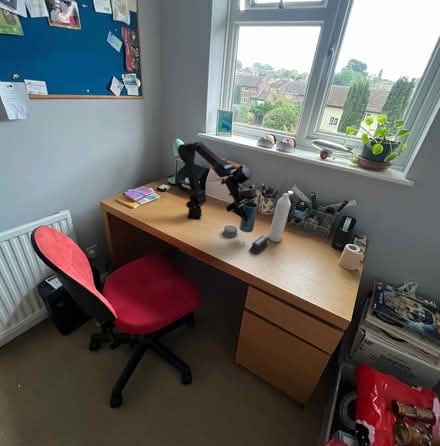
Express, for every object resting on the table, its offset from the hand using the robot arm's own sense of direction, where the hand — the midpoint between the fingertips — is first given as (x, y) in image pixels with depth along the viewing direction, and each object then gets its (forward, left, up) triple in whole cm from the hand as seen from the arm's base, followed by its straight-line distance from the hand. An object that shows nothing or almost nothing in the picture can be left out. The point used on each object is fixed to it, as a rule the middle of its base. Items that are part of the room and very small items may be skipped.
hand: (250, 217), depth 114 cm
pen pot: (-1, +1, -7) cm, 7 cm away
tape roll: (-8, +6, -13) cm, 17 cm away
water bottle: (+16, +6, -14) cm, 22 cm away
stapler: (+6, -4, -13) cm, 15 cm away
